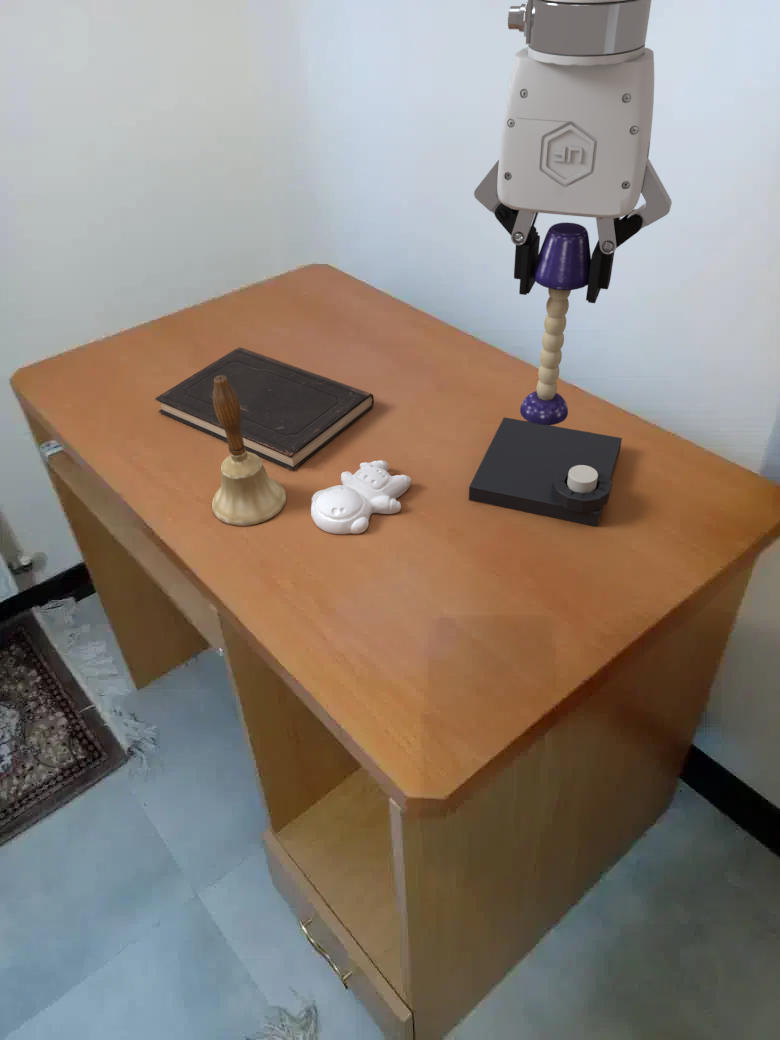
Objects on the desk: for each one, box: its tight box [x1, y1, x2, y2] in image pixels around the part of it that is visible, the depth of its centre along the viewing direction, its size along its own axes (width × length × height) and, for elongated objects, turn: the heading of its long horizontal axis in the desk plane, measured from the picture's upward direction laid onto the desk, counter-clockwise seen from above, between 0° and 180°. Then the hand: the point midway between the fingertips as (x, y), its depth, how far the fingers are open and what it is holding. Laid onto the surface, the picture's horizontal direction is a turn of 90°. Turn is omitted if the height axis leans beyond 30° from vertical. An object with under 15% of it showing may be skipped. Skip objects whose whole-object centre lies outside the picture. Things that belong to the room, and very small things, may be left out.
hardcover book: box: [155, 346, 375, 472], centre depth 101 cm, size 16×23×2 cm
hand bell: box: [211, 375, 287, 527], centre depth 83 cm, size 8×8×16 cm
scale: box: [468, 416, 623, 528], centre depth 88 cm, size 14×14×4 cm
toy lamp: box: [519, 222, 592, 426], centre depth 66 cm, size 5×5×17 cm
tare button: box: [567, 465, 598, 493], centre depth 82 cm, size 3×3×2 cm
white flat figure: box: [310, 459, 412, 535], centre depth 86 cm, size 9×12×3 cm
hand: (560, 289), depth 63 cm, fingers closed on toy lamp, 4 cm apart
